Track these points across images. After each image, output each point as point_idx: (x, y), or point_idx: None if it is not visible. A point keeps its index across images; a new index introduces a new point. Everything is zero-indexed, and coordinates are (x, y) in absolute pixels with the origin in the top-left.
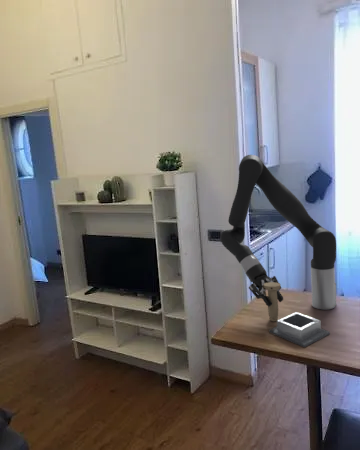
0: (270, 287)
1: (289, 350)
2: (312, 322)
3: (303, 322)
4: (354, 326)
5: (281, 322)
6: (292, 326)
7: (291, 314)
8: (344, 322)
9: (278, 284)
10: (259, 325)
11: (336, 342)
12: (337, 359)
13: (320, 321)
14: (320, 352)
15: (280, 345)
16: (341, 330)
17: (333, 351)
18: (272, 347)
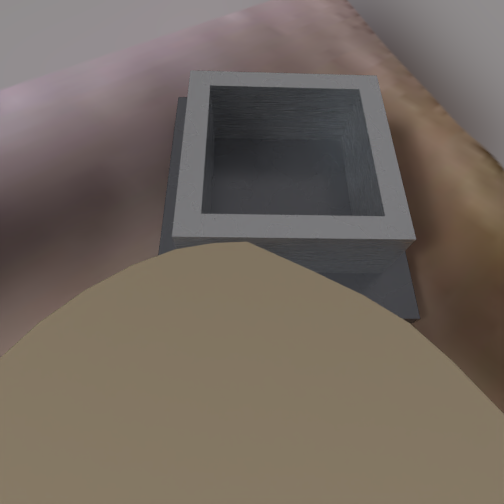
0: (502, 442)
1: (439, 136)
2: (248, 82)
3: (208, 192)
4: (32, 82)
5: (405, 197)
6: (384, 122)
7: (241, 232)
8: (8, 124)
9: (106, 361)
10: None
11: (229, 64)
12: (333, 19)
13: (192, 76)
14: (343, 64)
15: (448, 184)
16: (109, 96)
17: (299, 44)
18: (496, 197)
